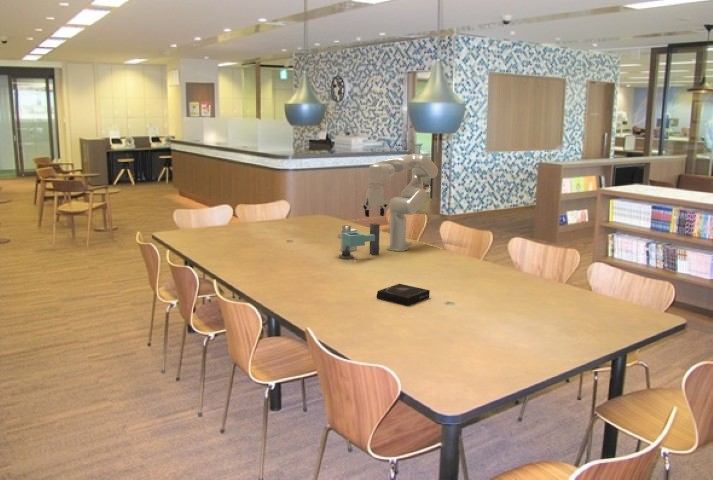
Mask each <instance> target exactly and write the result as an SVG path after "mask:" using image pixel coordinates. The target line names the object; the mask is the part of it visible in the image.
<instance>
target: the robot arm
mask: <svg viewBox="0 0 713 480" xmlns="http://www.w3.org/2000/svg"><path fill="white" fill-rule="evenodd" d="M408 170H409V171H410V170H411V181H410V182H409V183H408V185H406V187H404V188H403V189H402V191H401V193H400V196H394V197H392V198H391V199H390V200H387V199H385V197H384V193H385V192H384V189H383V187H384V186H385V184H384V183H383V178H390V177H393V176H394V175H395V173H403V172H406V171H408ZM438 174H439V168H438V166H437V165H436V163H434V162H433V161H432V159H430V158H429V157H428V156H427V155H425V154H422V153H421V154H419V153H410V154H406V155H404V156H400V157H397V158H396V157H395V158H391V159H385V160H381V161H378V162H375V163H374V164H370V165H369V169H368V188H367V189H366V194H365V199H364V200H362V201H361V202H360V204H361V207H362V208H363V209H364V216H365V217H367V218H369V217H370V210H369V209H370V208H372V207H380V210H379V216H381V217H385V216H384V215H385V210H386V208H387V206H388V209H389V214H390V217H389V218H390V220H389V221H390V222H389V224H390V225H389V245H388V246H387V247H386V249H387V250H388V251H393V252H405V250H406V251H408V249H409V247H408V246H413V242H412V241H411V242H410V241H407V240H406V239H407V237H406V236H407V235H406V233H407V218H406V215H408V216H409V215H414V214H415V213H416V212H417V211H418V210H420V209H421V207H422V205H424V204H425V202H426V201H427V195H428V194H427V191H426V190H425V189H424V182H423V179H434V178H436V177H438V176H437V175H438Z"/></svg>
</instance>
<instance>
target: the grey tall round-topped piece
mask: <svg viewBox="0 0 713 480" xmlns="http://www.w3.org/2000/svg"><path fill="white" fill-rule="evenodd" d="M351 227H352V226H351V225H350V224H349V225H348V224H345V225H344V224H343V225H342V227H341V230H342V233H350V232H351V229H352V228H351ZM337 239H340V240H341V239H342V234H341V233H339V234H337ZM350 248H351V247H349V246H347V245H344V244H342V250H341V254H339V256H338V257H339V258H340V259H342V260H345V259H346V260H349V259H353V258H354V254H351V251H350Z"/></svg>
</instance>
